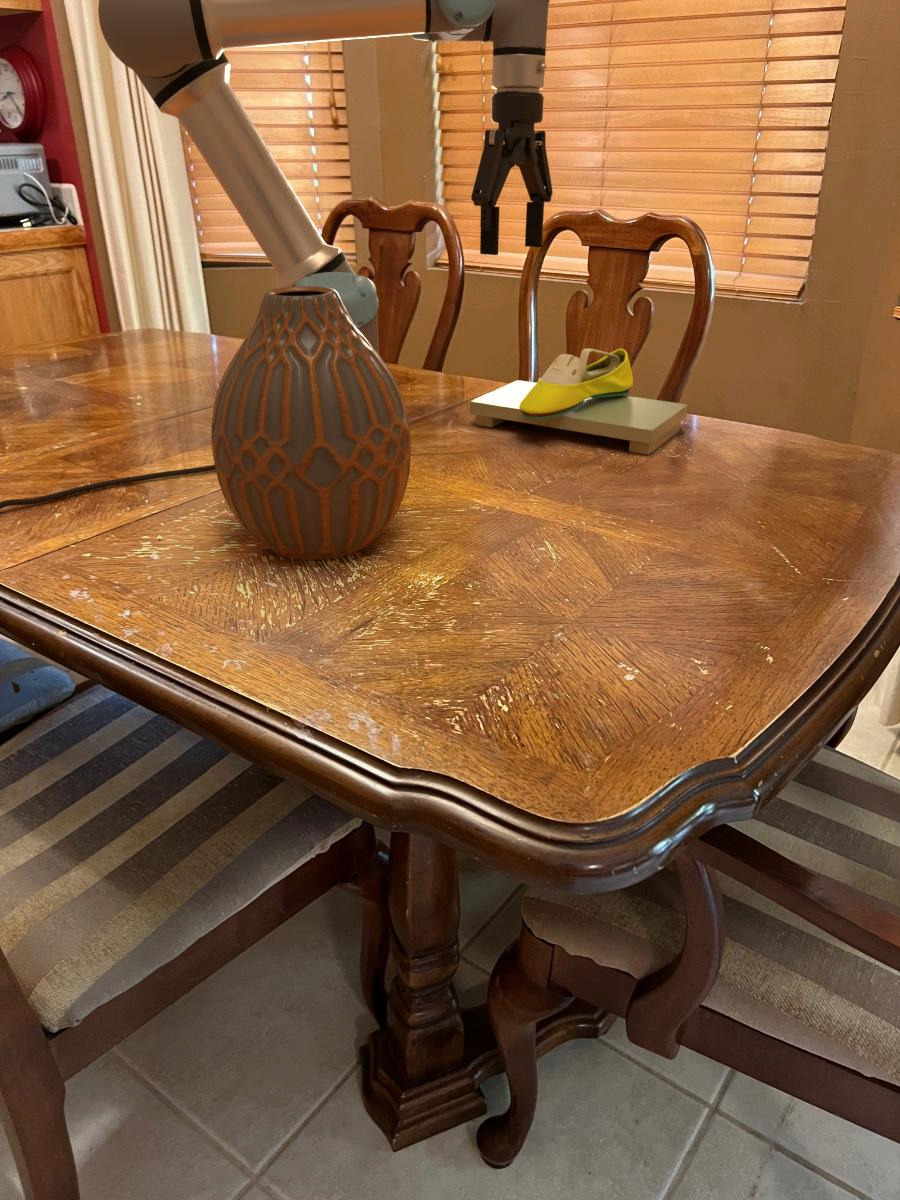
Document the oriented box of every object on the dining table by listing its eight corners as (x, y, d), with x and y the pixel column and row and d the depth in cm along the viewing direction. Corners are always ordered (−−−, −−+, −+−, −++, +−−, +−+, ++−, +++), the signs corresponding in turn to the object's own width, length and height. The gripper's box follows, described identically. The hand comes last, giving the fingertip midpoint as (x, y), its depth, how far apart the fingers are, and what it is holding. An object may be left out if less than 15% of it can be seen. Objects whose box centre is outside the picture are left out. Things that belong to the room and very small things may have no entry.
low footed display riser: (649, 457, 123) (652, 430, 122) (469, 426, 137) (469, 401, 136) (685, 429, 135) (688, 404, 134) (516, 403, 149) (517, 380, 148)
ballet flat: (502, 413, 129) (503, 358, 125) (604, 386, 144) (608, 336, 140) (541, 425, 124) (544, 368, 120) (643, 395, 138) (649, 344, 134)
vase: (288, 494, 111) (266, 272, 98) (440, 517, 104) (439, 282, 91) (186, 560, 93) (144, 301, 80) (361, 593, 86) (346, 315, 74)
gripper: (495, 86, 112) (490, 259, 122) (580, 95, 131) (570, 245, 141) (447, 88, 116) (447, 256, 126) (537, 96, 134) (530, 242, 144)
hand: (512, 250), depth 133 cm, fingers open, 13 cm apart
